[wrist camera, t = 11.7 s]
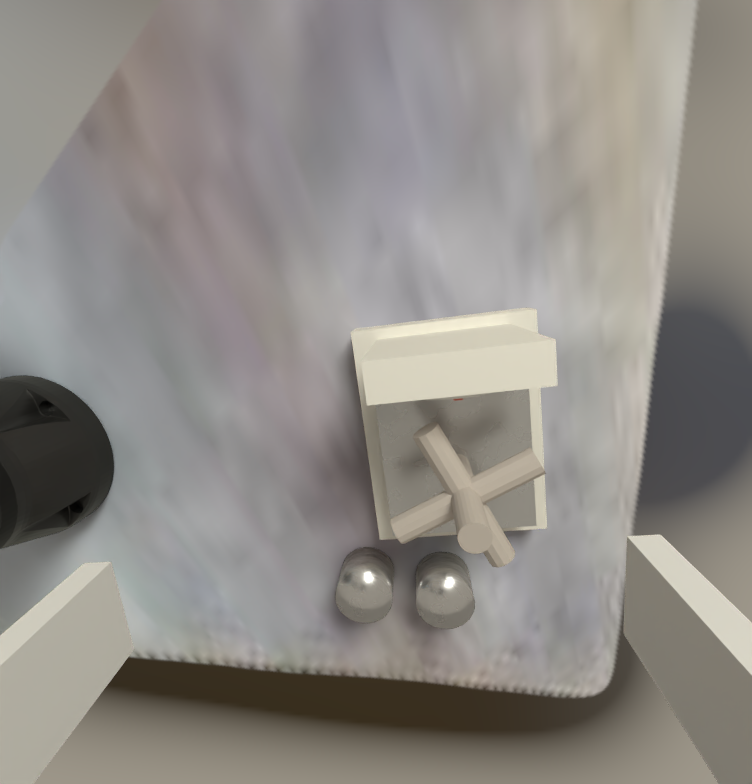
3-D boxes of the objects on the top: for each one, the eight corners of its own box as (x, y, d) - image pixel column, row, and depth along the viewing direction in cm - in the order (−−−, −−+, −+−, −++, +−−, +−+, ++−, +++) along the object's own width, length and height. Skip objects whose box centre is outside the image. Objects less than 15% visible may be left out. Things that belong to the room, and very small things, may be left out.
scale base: (382, 522, 41) (366, 638, 27) (355, 328, 37) (321, 351, 23) (537, 510, 39) (602, 627, 26) (526, 307, 35) (596, 318, 22)
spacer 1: (346, 594, 43) (339, 624, 39) (339, 548, 42) (331, 575, 38) (397, 591, 42) (395, 621, 39) (390, 545, 41) (388, 571, 38)
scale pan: (393, 529, 36) (392, 535, 35) (376, 397, 33) (374, 401, 32) (533, 519, 34) (536, 525, 33) (525, 382, 32) (529, 385, 31)
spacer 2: (418, 599, 42) (419, 630, 39) (413, 553, 41) (413, 580, 38) (471, 596, 42) (476, 627, 38) (466, 549, 41) (472, 577, 37)
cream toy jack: (550, 489, 33) (607, 573, 23) (432, 546, 34) (439, 646, 25) (484, 375, 31) (516, 412, 21) (365, 441, 33) (345, 503, 23)
